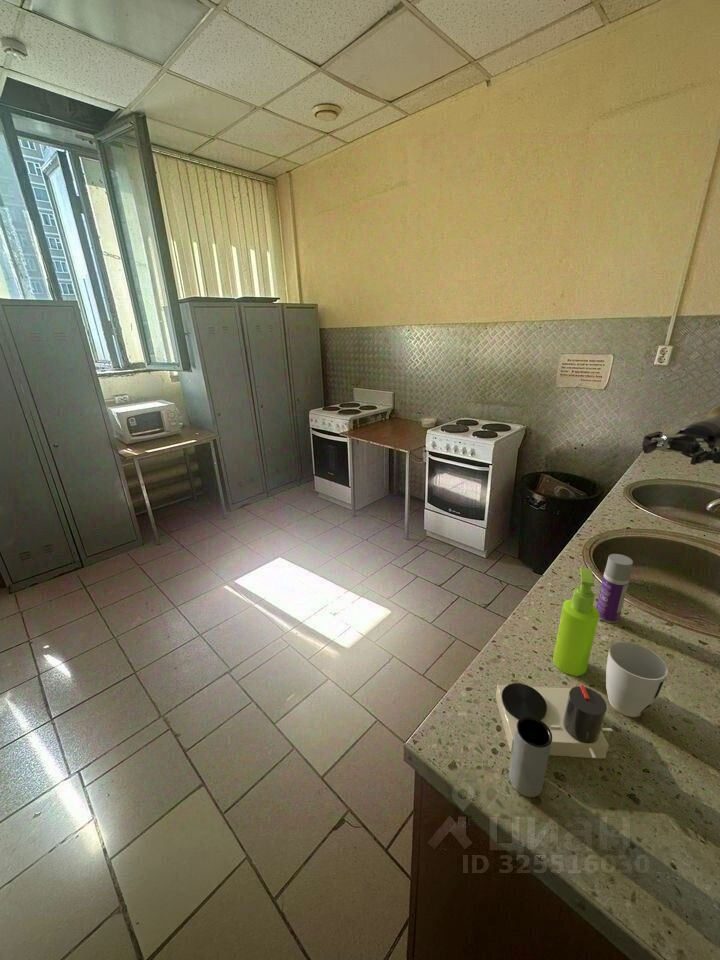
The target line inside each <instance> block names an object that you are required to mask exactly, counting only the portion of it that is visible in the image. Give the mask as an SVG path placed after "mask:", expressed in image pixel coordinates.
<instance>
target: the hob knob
mask: <svg viewBox="0 0 720 960" xmlns="http://www.w3.org/2000/svg"><path fill="white" fill-rule="evenodd" d="M607 708H608V707H607V703H606V700H605V699H604V697H602V696H601V694H599V693H598V692H597V691H595V690H594V689H592V688H589V687H586V686H585V685H584V684H579V685H578V686H577V685H576V686H574V687H572V688H571V690H570V692H569V696H568V700H567V705H566V710H565V714H564V719H563V725H564V727H565V729H566V731H567V732H568V733H569V734H570V735H571V736H572V737H573V738H574V739H576V740H578V741H580V742H583V743H587V744H591V743H595V742H596V741H597V740H598V739H599V736H600V732H601V731H602V728H603V724H604V721H605V717H606V713H607Z"/></svg>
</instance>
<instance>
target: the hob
mask: <svg viewBox="0 0 720 960" xmlns="http://www.w3.org/2000/svg"><path fill="white" fill-rule="evenodd" d="M508 685H509V684H497V685H496V692H495V700H496V703H497V707H498V711H499V715H500V719H501V722H502V726H503V729H504V733H505V736H506V740H507V744H508V748H509V751H510V754H512V750H513V744H514V738H515V731H516V725H517V722H518V720H519V719H517V718H515V717H514V716H512V715H511V714H510V713H509V712H508V711H507V710H506V709H505V707H504V705H503V703H502V691H503V689H504V688H505V687H506V686H508ZM531 687H532V688H534V689H535V690H536V691H538V692H539V693H540V694H541V695H542V697H543V698H544V700H545V702H546V705H547V711H546V715H545V717H544V718H543V719H542V720H541V721H542V722H544V723H545V724H546V725H547V726H548V728H549V729H550V731H551V733H552V743H551V748H550V753H549V756H556V757H571V758H574V757H575V758H588V759H603V760H606V756H607V753H608V750H609V747H610V746H609V743H608V741H607V739H606V737H605V735H604V732H613V729H612V728H609V727H602V728H601V732H600V736H599V739H598V740H597V741H596V742H595V743H591V744H587V743H583V742H580V741H578V740H576V739H574V738H573V737H572V736H571V735H570V734H569V733H568V732H567V731H566V729H565V727H564V725H563V719H564V714H565V710H566V705H567V700H568V696H569V692H570V690H571V689H572V688H570V687H567V688H566V687H547V686H531ZM602 731H604V732H602Z"/></svg>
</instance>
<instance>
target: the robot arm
mask: <svg viewBox="0 0 720 960" xmlns="http://www.w3.org/2000/svg"><path fill="white" fill-rule="evenodd" d="M641 447H642V451H643V454H647V455H648V454H651V453H652V452H655V451H661V452H663V453H673V452H674V453H676V454H677V453H678V454H679V453H680V454H681V455H682V456H684V457H687V458H691V459H690V465H693V466H696V465H699V464H703V463H708V462H709V461H712V463H713V464H715V465H719V464H720V404H718V405H716V406H715V407H713V408H712V409H711V410H710V411H708V413H707V415H706V417H705V418H704V419H700V420H698V421H695V422H693V423H690V424H688V425H686V426H684V427H682V428H681V429H679V430H678V432H676V433H675V434H671V435H670V434H669V435H666V434H665V435H663V431H661V430H659V431H658V430H657V431H653V432H652V433H649V434H645V435H644V436H643V440H642V444H641Z"/></svg>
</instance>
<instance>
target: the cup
mask: <svg viewBox="0 0 720 960" xmlns="http://www.w3.org/2000/svg"><path fill="white" fill-rule="evenodd" d="M668 673H669V668H668V665H667V664H666V662H665V661H664V659H663V658H662V657H661V656H660V655H658V654H657V653H656V652H654V651H653V650H651V649H650V648H648V647H646V646H643V645H641V644H638V643H635V642H631V641H617V642H614V643H612V644H610V646H609V647H608V653H607V660H606V667H605V688H606V694H607V698H608V702H609V704H610V706H611V707H612V708H613V709H614V710H615V711H617V712H618V713H620V714H621V715H624V716H626V717H629V718H638V717H641V716H642V715H643V714H644V713H645V712H646V711H648V709H649V708H651V706H652V705H653V703H654V701H655V700H656V699H657V697H658V696H659V694H660V693H661V690H662V688H663V685H664V683H665V681H666V678H667V677H668Z"/></svg>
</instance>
